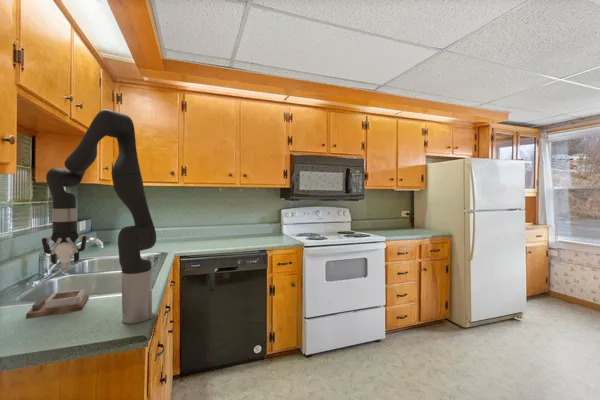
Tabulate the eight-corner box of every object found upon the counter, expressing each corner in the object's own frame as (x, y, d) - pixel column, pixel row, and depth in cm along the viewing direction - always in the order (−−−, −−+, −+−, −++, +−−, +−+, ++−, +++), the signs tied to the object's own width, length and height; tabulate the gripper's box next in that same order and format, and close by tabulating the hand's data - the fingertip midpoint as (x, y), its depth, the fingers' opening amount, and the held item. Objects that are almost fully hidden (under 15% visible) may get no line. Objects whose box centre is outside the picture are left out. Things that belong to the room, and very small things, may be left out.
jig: (88, 297, 123) (88, 287, 122) (81, 309, 110) (81, 298, 110) (39, 304, 115) (39, 293, 115) (26, 318, 103) (25, 305, 103)
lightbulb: (51, 270, 112) (51, 241, 111) (70, 266, 117) (70, 239, 117) (59, 272, 109) (59, 243, 108) (79, 268, 114) (78, 240, 114)
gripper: (37, 221, 106) (38, 267, 106) (85, 220, 113) (86, 263, 113) (43, 219, 112) (44, 262, 113) (89, 218, 119) (89, 259, 120)
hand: (65, 262), depth 113 cm, fingers closed on lightbulb, 5 cm apart
